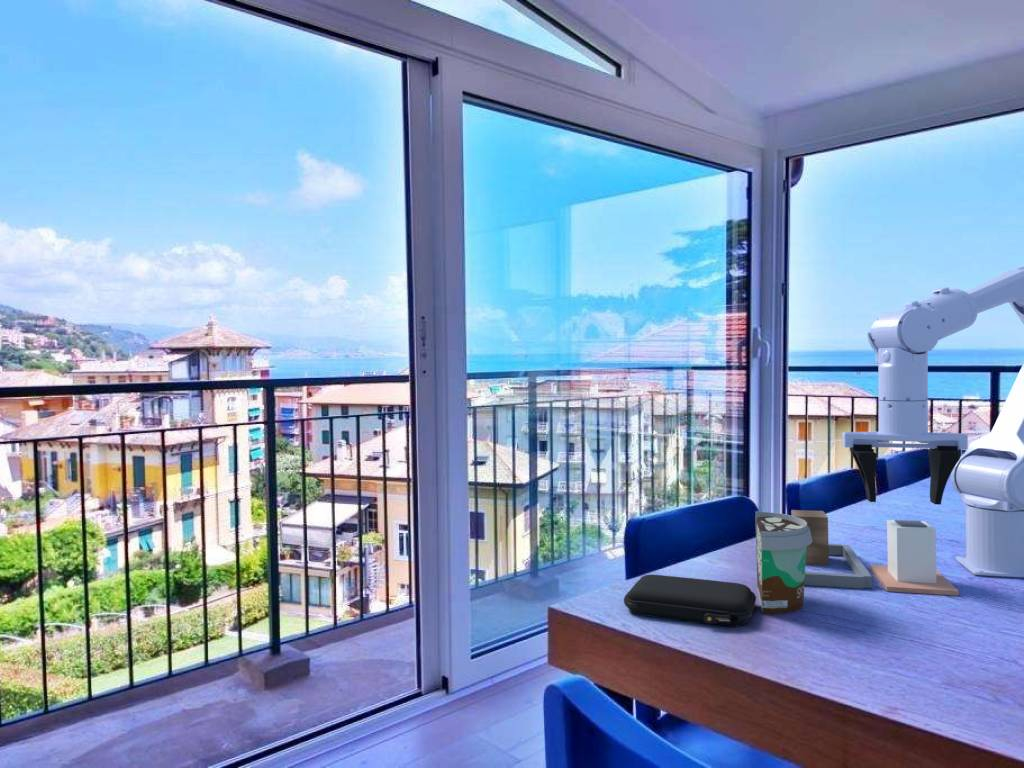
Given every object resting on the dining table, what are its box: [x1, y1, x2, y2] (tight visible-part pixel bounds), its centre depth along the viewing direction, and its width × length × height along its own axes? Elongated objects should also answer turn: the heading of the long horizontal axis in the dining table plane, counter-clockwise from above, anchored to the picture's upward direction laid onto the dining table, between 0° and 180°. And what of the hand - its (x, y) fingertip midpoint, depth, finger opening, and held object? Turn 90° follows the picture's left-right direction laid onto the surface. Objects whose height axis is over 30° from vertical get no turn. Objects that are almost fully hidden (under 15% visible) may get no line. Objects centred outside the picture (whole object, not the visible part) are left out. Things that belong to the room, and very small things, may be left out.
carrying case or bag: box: [623, 574, 757, 627], centre depth 82 cm, size 11×3×15 cm
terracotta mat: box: [869, 564, 960, 597], centre depth 91 cm, size 8×10×1 cm
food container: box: [754, 511, 812, 615], centre depth 84 cm, size 12×6×10 cm, turn 164°
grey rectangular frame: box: [804, 542, 873, 590], centre depth 98 cm, size 12×17×2 cm
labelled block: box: [886, 519, 937, 583], centre depth 91 cm, size 4×4×7 cm
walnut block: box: [791, 509, 830, 566], centre depth 102 cm, size 4×4×7 cm
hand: (903, 502), depth 91 cm, fingers open, 7 cm apart
